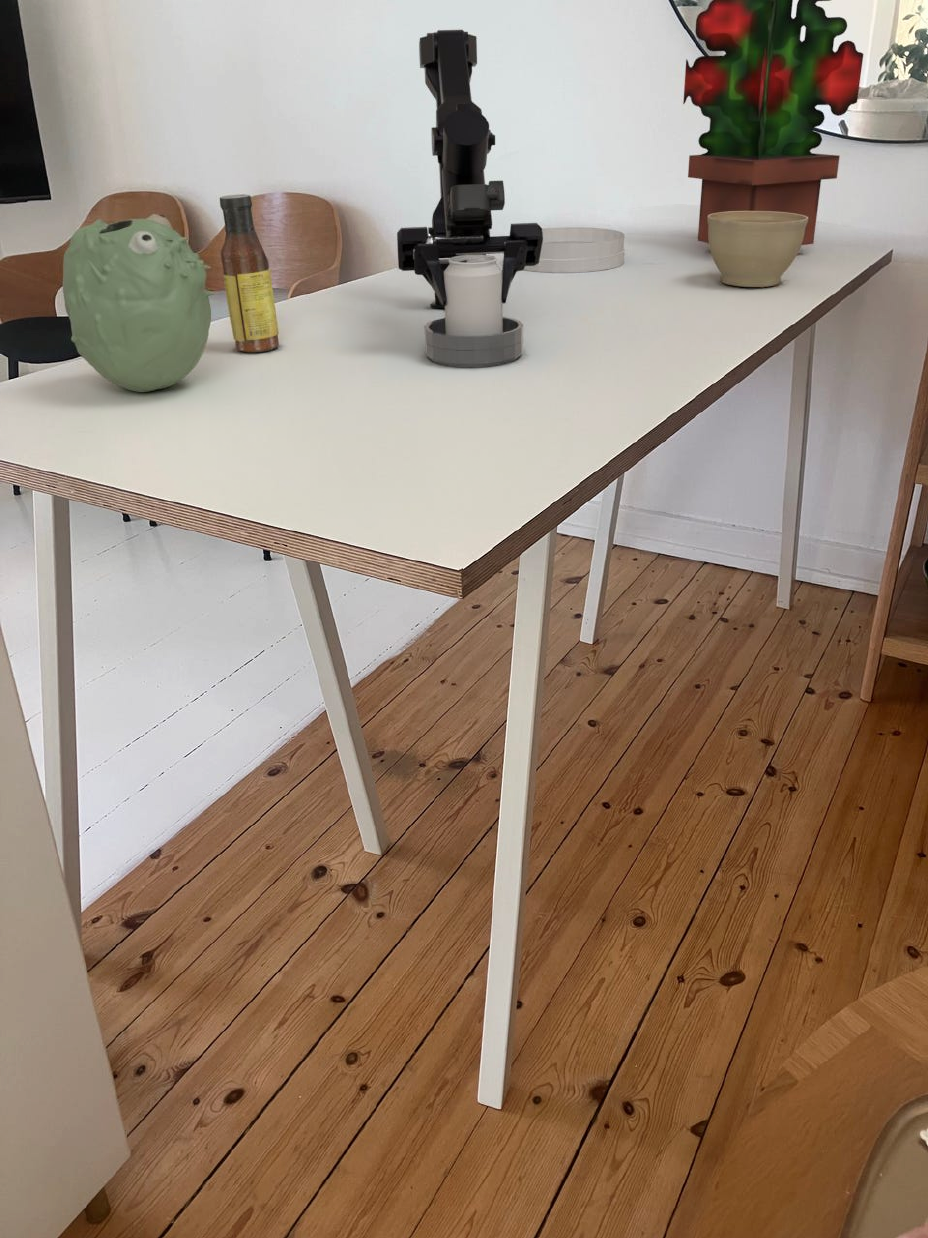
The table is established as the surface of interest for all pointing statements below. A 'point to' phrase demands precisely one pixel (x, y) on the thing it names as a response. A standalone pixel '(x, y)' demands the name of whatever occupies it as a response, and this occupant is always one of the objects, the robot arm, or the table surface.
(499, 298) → the can
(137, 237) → the green pufferfish figure
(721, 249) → the planter bowl
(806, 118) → the potted plant
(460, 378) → the table surface
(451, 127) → the robot arm
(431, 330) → the pan
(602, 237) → the dish
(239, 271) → the sauce bottle
